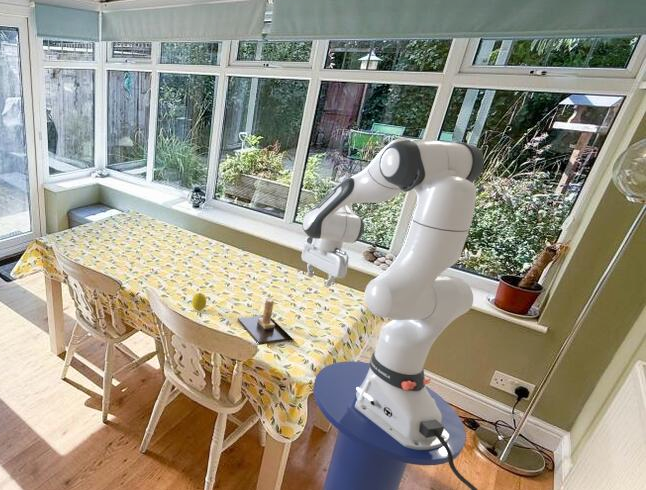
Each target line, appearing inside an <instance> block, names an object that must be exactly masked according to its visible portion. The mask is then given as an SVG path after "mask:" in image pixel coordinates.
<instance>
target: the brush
mask: <svg viewBox="0 0 646 490" xmlns="http://www.w3.org/2000/svg"><path fill="white" fill-rule="evenodd" d="M274 303H275V300H274V298H272V297H267V298H265V304H264V308H263V314H262V315H263V318H258V323H257V325H258V326H259V327H260V328H261V329H262V330H263V331H264V332H265V331H273V330H274V327H275V324H274V323H273V322H272V321H271V318H272V315H273V309H274Z"/></svg>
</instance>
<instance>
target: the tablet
mask: <svg viewBox="0 0 646 490" xmlns="http://www.w3.org/2000/svg"><path fill="white" fill-rule="evenodd" d="M258 318H263V314H260V315H252V316H244V317H237V321H238V322H239V323H240V325H241V326H242V327H243V328H244V330H245V331H246V332H247V333H248V334H249V336H250V337H251V338H252V339H253V340H254V341H255V343H257V342H258V343H259V345H258V346H261V345H268V344H277V343H284V342H289V341H295V339H294V338H293V337H291V335H290V334H288V332H287V331H286V330H285V329H283V327H282V326H280V325H279V324H278V323H277V322H276V321H275V320H274V319H273V318H272V317H271V321H272V322H273V323H274V324H275V327H274V330H273V331H265V332H264V331H263V330H262V329H261V328H260V327H259V326H258V325H257V323H258Z"/></svg>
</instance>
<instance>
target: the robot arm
mask: <svg viewBox="0 0 646 490" xmlns="http://www.w3.org/2000/svg"><path fill="white" fill-rule="evenodd" d="M484 165H485V157H484V154H483V152H482V151H481V150H480V149H479V147H477V146H476V145H473V144H469V143H466V142H459V141H458V142H452V141H443V140H437V139H419V140H415V139H414V138H409V137H398V138H396V139H394V140H392V141H390V142H389V143H388V144H387V145H386V146H384V148H382V149H381V150H380V151H379V153H378V154H376V156H375V157H374V158H373V159H372V160H371V161H370V163H369V164H368V165H367V166H366V167H365V168H364V169H363V170H361V171H360V172H358V173H357V174H355V175H353V176H351V177H347V178H345V179H344V180H342V181H341V182H339V183H338V184H337V185H336V186H335V187H334V188H333V189H332V190H331V191H330V192H329V193H327V195H326V196H325V197H324V198H323V199H321V200H320V201H319V202H318V204H317V205H315V206H314V207H312V208H311V209H309V210H308V211H307V212H306V213H305V215H304V217H303V219H302V230H303V232H304V234H305V235H307V236H306V237H305V239H304V241H305V244H304V245H303V248H302V252H301V261H302V262H305V263H307V264H306V268H307V273H306V276H308V277H311V278H313V277H314V276H315V272H314V268H317V269H318V270H320V271H322V272H324V273H326V274H328V275H327V277H328V278H327V279H325V280H324V283H323V285H324V286H326V287H329V288H330V287H331V286H332V283H333V282H334V281H335V280H336V279H344V278H346V276H347V273H348V267H349V259H350V257H349V255H348V253H347V251H345V250H342V248H343V245H344V243H348V244H354V243H356V242H357V241H359V240H360V239H361V238H362V236H363V234H364V232H365V227H366V226H365V225H366V224H365V222H364V221H363V219H362V218H361V216H359V215H357V214H356V213H355V212H354V210H353V204H363V203H364V204H365V203H383V202H387V201H390V200H392V199H394V198H396V197H397V196H398V195H400V193H402V192H405V193H408V192H410V191H412V190H414V191H415V193H416V196H417V202H416V206H415V209H414V211H413V215H412V219H411V222H410V224H409V229H408V232H407V235H406V237H405V241H404V243H403V246H402V248H401V250H400V252H399V253H398V255H397V256H396V258H395V259H394V261H393V262H392V263H391V264H390V266H389V267H388V268H387V269H386V270H385V271H384V272H382V273H380V275H378V276H377V277H375V278H373V279H371V280H370V281H369V282H368V283H367V285H366V286H365V290H364V295H363V296H364V303H365V305H366V308H367V309H368V310H369V312H370V313H371V314H372V315H373V316H375V317H377V318H380V319H381V318H382V319H387V320H391V321H390V322H387V323H386V324H385V325H384V326H383V327H382V328H381V330H380V333H379V335H378V339H377V343H376V345H375V350H374V351H373V352H372V354H371V357H370V359H369V363H370V368H369V371H368V373H367V376H366V378H365V380H364V381H363V383H362V385H361V386H360V387H359V388H358V387H357V389H356V390H357V392H356V397H357V401H356V403H355V408H356V409H357V410H359V411H360V412H361V413H362V414H364V415H365V416H366V417H367V418H369V419H370V420H371V421H373V422H374V423H375V424H376V425H378V426H379V427H380V428H381V429H383V430H384V431H385V432H387V433H388V434H389V435H390V436H392V437H393V438H394V439H395V440H397V441H398V442H399V443H401V444H402V445H403V446H405V447H407V448H411V449H416V450H429V449H435V448H438V447H441V446H444V448H445V450H446V452H447V455H448V462H447V463H448V465H449V467H450V469H451V471H452V472H453V474H454V475H455V477H456V478H457V479H459V481H461V483H463V484H464V485H465V486H466V487H468V488H469V489H470V490H479V489H478V488H477V487H475V485H473V484H472V483H471V482H470V481H469V480H468V479H466V478H465V477H464V476H463V475H462V474H461V473H460V472H459V471H458V469H457V467H456V466H455V463H454V459H453V456H452V453H451V451H450V449H449V447H448V445H447V442H448V440H449V436H450V435H449V434H448V432H447V431H446V430H445V429H444V426H443V425H442V424H441V422H442V415H441V412H440V410H439V409H438V407H437V406H436V402H435V400H434V399H433V398H432V397H431V396H430V394H429V392H428V391H427V389H426V387H425V386H426V385H427V384H430V383H431V382H430V381H432V379H431V378H427V379H425V378H426V377H425V369H424V365H425V363H426V361H427V358H428V355H429V352H430V350H431V347H432V346H433V345H434V343H435V342H436V340H437V339H438V337H439V336H440V335H441V334H442V333H443V331H444V330H446V328H447V327H448V326H449V325H450V324H452V322H453V321H455V320H456V319H458V318H459V317H461V316H462V315H465V314H466V313H468V312H469V311H470V310H471V308H472V307H473V304H474V293H473V291H472V287H470V285H469V283H467V281H465V280H464V279H462V278H460V277H457V276H453V275H452V276H451V275H448V274H442V273H443V272H444V271H446V270H447V269H449V268H451V267H452V266H454V265H455V264H456V263H458V261H459V260H460V259H461V256H462V253H463V250H464V248H465V247H464V246H465V244H466V241H467V239H468V238H467V237H468V235H469V232H470V229H471V226H472V223H473V218H474V215H475V209H476V202H477V201H476V200H477V188H476V186H475V184H474V183H473V182H475V181H476V180H477V179H478V178H479V177H480V176H481V174H482V171H483V170H484Z"/></svg>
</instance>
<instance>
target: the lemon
mask: <svg viewBox="0 0 646 490" xmlns="http://www.w3.org/2000/svg"><path fill="white" fill-rule="evenodd" d="M191 304H192V307H193V309H195V310H197V311H201V310H203V309H205V308H206V305H207V297H206V296H205V294H203V293H202V292H197V293H195V294H194V295H193V296H192V299H191Z"/></svg>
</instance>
